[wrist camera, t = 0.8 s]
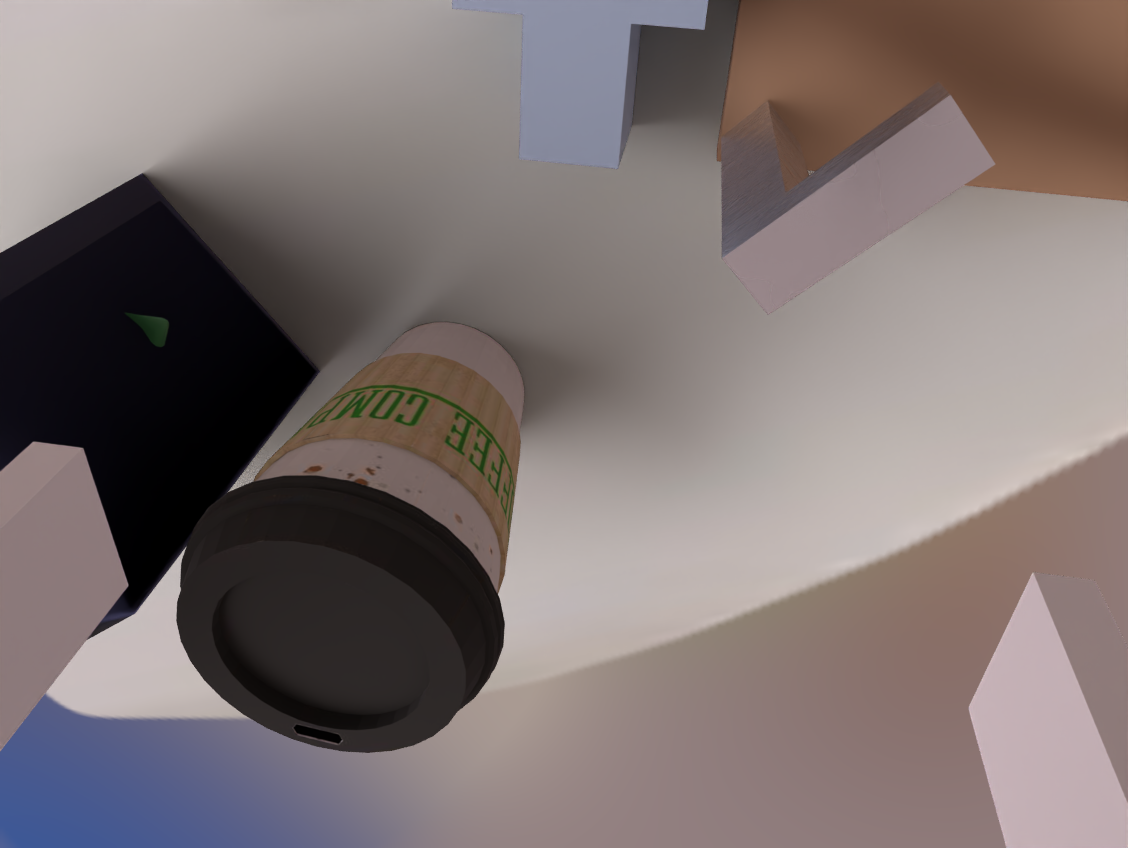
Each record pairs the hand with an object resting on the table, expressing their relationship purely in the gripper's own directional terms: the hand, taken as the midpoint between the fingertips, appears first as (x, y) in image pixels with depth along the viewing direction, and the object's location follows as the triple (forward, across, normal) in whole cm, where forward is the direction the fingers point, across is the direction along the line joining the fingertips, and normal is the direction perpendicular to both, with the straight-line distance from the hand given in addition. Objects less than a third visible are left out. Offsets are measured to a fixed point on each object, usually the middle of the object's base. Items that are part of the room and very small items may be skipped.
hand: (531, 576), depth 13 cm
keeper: (+22, +6, +2) cm, 23 cm away
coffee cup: (+22, -7, -11) cm, 26 cm away
